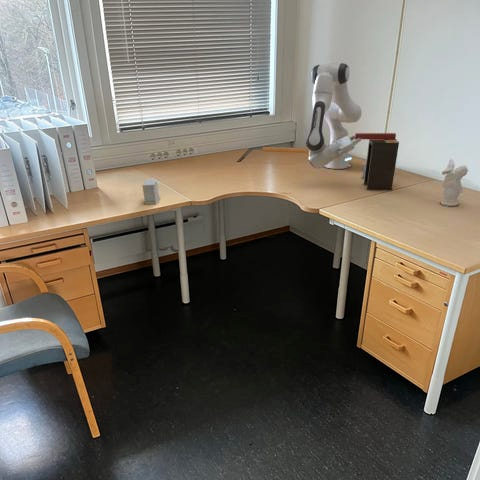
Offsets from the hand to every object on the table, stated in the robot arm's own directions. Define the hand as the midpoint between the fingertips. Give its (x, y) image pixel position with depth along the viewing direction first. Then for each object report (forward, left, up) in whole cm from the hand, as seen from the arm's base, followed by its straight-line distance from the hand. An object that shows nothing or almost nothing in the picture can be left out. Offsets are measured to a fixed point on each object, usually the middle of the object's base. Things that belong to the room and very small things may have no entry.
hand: (359, 137), depth 268 cm
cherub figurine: (+33, +43, -27) cm, 61 cm away
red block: (0, +9, -1) cm, 9 cm away
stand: (+3, +13, -27) cm, 30 cm away
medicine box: (-14, +11, -27) cm, 33 cm away
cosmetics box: (+32, -114, -27) cm, 121 cm away
